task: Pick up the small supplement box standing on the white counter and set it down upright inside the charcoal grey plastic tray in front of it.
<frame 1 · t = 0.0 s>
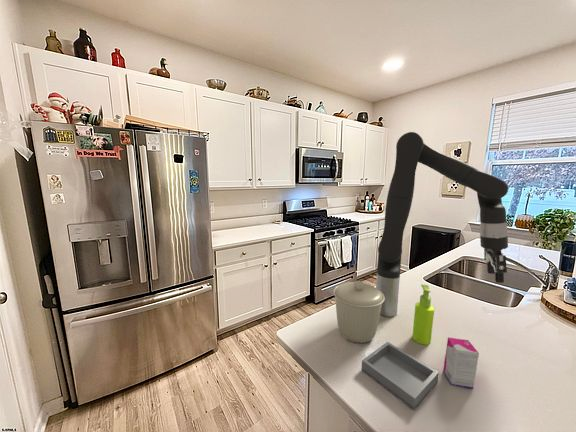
hand: (495, 277, 88), 22 cm above the countertop, tool pointing down, fingers open, 8 cm apart
soap dispenser: (421, 338, 88), on the countertop
tray: (398, 376, 72), on the countertop
canister: (356, 334, 91), on the countertop
supplement box: (457, 379, 71), on the countertop
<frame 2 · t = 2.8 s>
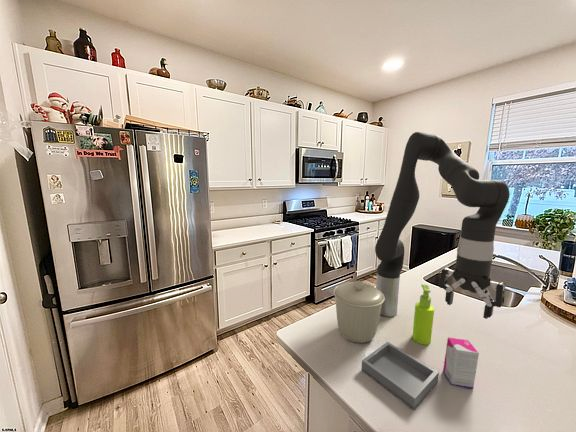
hand: (466, 310, 67), 22 cm above the countertop, tool pointing down, fingers open, 8 cm apart
nothing on the countertop moved.
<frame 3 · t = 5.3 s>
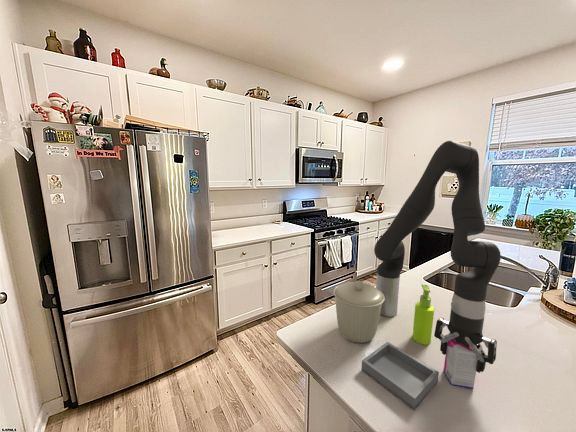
hand: (460, 361, 70), 6 cm above the countertop, tool pointing down, fingers open, 8 cm apart
supplement box: (457, 380, 71), on the countertop, touching gripper
everything else where it was.
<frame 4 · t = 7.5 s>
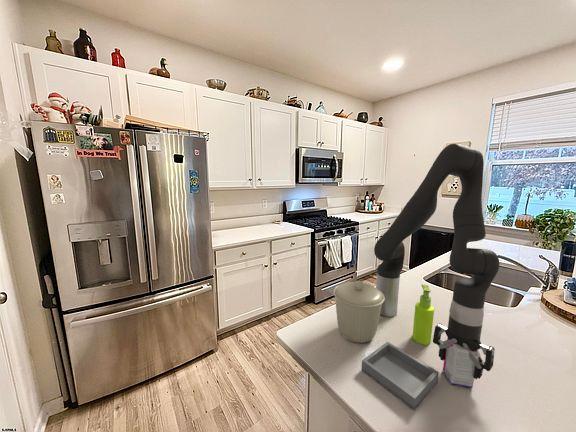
hand: (458, 367, 70), 4 cm above the countertop, tool pointing down, fingers closed on supplement box, 8 cm apart
supplement box: (457, 379, 71), on the countertop, touching gripper
everything else where it was.
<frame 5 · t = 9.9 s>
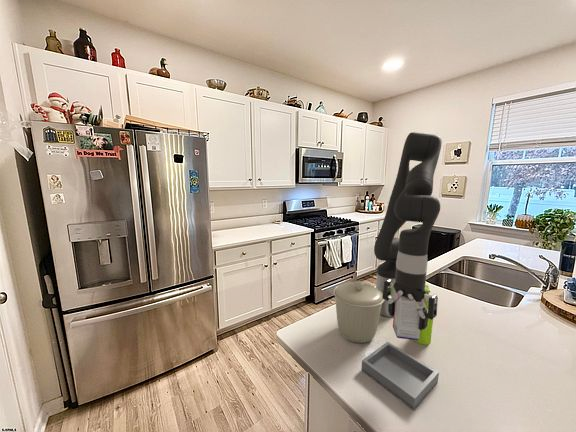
hand: (406, 321, 69), 18 cm above the countertop, tool pointing down, fingers closed on supplement box, 8 cm apart
supplement box: (405, 333, 69), point 14 cm above the countertop, touching gripper
everything else where it was.
when the fingers open (5 cm above the countertop, at t = 13.5 s): supplement box drops 1 cm, resting on tray.
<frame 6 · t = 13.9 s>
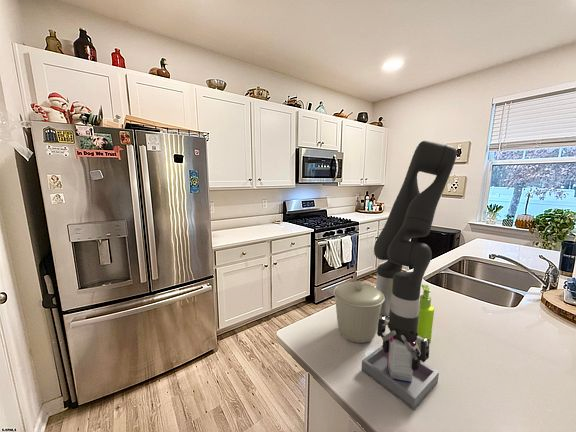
hand: (399, 359, 71), 6 cm above the countertop, tool pointing down, fingers open, 8 cm apart
supplement box: (398, 374, 72), point 1 cm above the countertop, touching gripper, tray
everything else where it was.
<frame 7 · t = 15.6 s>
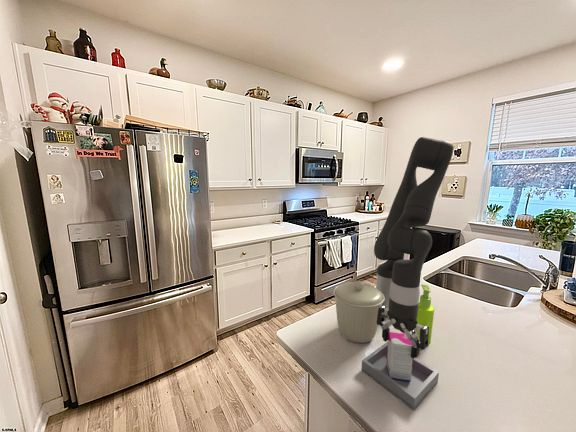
hand: (399, 348, 70), 9 cm above the countertop, tool pointing down, fingers open, 8 cm apart
nothing on the countertop moved.
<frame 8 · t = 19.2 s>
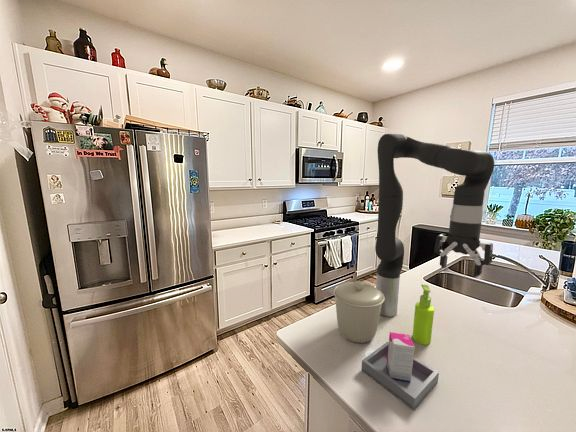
hand: (459, 271, 74), 30 cm above the countertop, tool pointing down, fingers open, 8 cm apart
supplement box: (398, 373, 72), point 1 cm above the countertop, touching tray
everything else where it was.
at the end: supplement box inside the target area on the tray (0.2 cm from its centre), point 0.6 cm above the tray's base; supplement box tilted 0°; the gripper is holding nothing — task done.
